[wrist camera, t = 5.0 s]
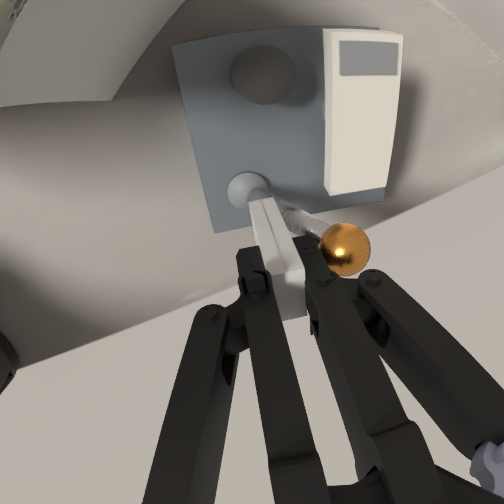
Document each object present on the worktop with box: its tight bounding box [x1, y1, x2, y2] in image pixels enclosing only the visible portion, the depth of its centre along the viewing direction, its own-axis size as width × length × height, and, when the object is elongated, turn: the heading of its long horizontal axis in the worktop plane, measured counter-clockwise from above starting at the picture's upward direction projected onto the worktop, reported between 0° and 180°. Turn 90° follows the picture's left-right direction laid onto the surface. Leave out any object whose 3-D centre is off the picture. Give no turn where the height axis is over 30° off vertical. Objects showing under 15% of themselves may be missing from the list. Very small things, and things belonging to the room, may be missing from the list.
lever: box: [246, 187, 371, 276], centre depth 18 cm, size 3×3×10 cm
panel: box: [171, 26, 385, 234], centre depth 21 cm, size 14×14×6 cm
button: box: [230, 45, 296, 105], centre depth 16 cm, size 4×4×2 cm
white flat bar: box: [323, 29, 403, 196], centre depth 17 cm, size 4×11×1 cm, turn 9°
